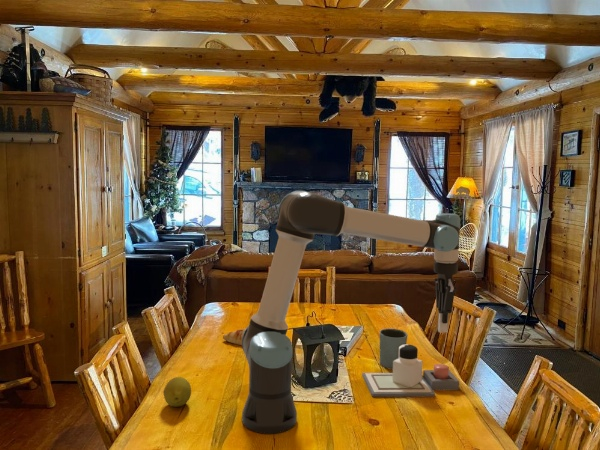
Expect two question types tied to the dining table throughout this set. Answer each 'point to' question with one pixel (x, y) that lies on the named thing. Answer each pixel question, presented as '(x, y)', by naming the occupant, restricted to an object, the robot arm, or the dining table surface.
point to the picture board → (394, 386)
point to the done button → (441, 371)
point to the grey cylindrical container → (391, 346)
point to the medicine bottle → (407, 366)
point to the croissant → (235, 336)
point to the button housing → (441, 381)
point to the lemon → (177, 391)
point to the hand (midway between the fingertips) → (442, 331)
